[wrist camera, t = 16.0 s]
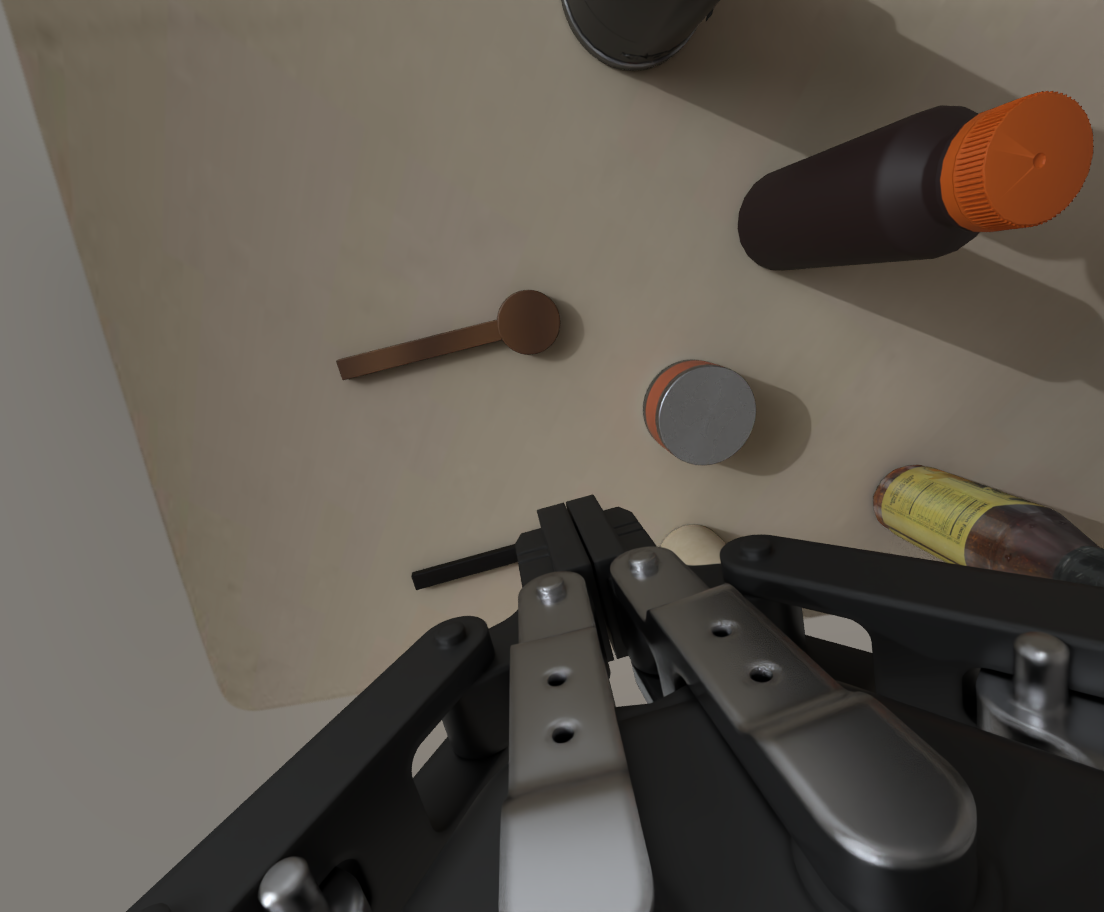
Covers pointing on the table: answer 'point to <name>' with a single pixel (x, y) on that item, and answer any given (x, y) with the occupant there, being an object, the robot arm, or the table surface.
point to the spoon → (471, 336)
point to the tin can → (699, 411)
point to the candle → (695, 545)
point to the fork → (464, 567)
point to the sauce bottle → (984, 527)
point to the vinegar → (921, 185)
